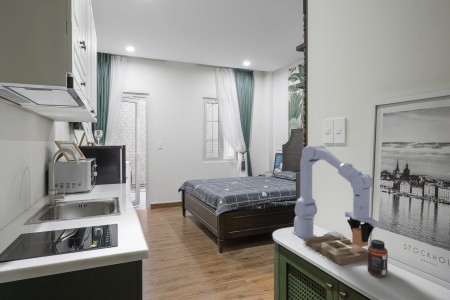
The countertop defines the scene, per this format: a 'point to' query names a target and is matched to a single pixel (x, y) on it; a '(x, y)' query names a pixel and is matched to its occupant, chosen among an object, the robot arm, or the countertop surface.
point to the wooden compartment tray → (355, 256)
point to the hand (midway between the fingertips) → (360, 239)
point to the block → (334, 236)
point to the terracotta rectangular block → (358, 237)
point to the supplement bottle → (377, 258)
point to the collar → (341, 250)
